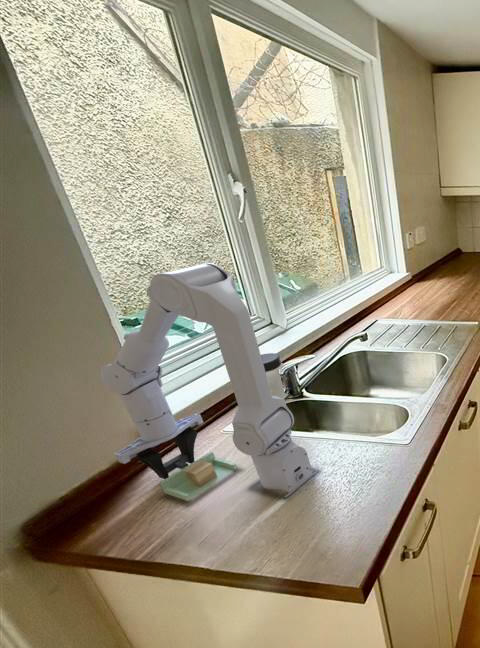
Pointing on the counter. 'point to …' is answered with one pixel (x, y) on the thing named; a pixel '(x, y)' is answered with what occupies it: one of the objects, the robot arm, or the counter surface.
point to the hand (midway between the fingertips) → (177, 469)
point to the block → (200, 473)
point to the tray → (179, 482)
